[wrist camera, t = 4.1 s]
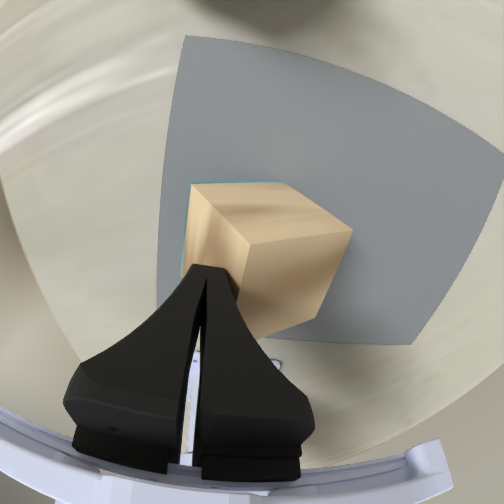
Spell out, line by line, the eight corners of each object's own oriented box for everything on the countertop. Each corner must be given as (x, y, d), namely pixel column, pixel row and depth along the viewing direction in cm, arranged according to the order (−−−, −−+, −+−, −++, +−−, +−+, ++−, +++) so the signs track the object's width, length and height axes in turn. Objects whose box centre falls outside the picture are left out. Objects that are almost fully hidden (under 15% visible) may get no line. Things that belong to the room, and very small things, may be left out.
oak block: (260, 260, 19) (314, 318, 15) (180, 275, 16) (225, 349, 12) (282, 181, 16) (353, 229, 13) (189, 182, 13) (250, 244, 10)
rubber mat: (410, 343, 25) (411, 344, 25) (157, 319, 22) (157, 321, 22) (508, 157, 15) (510, 158, 15) (185, 36, 12) (185, 35, 12)
